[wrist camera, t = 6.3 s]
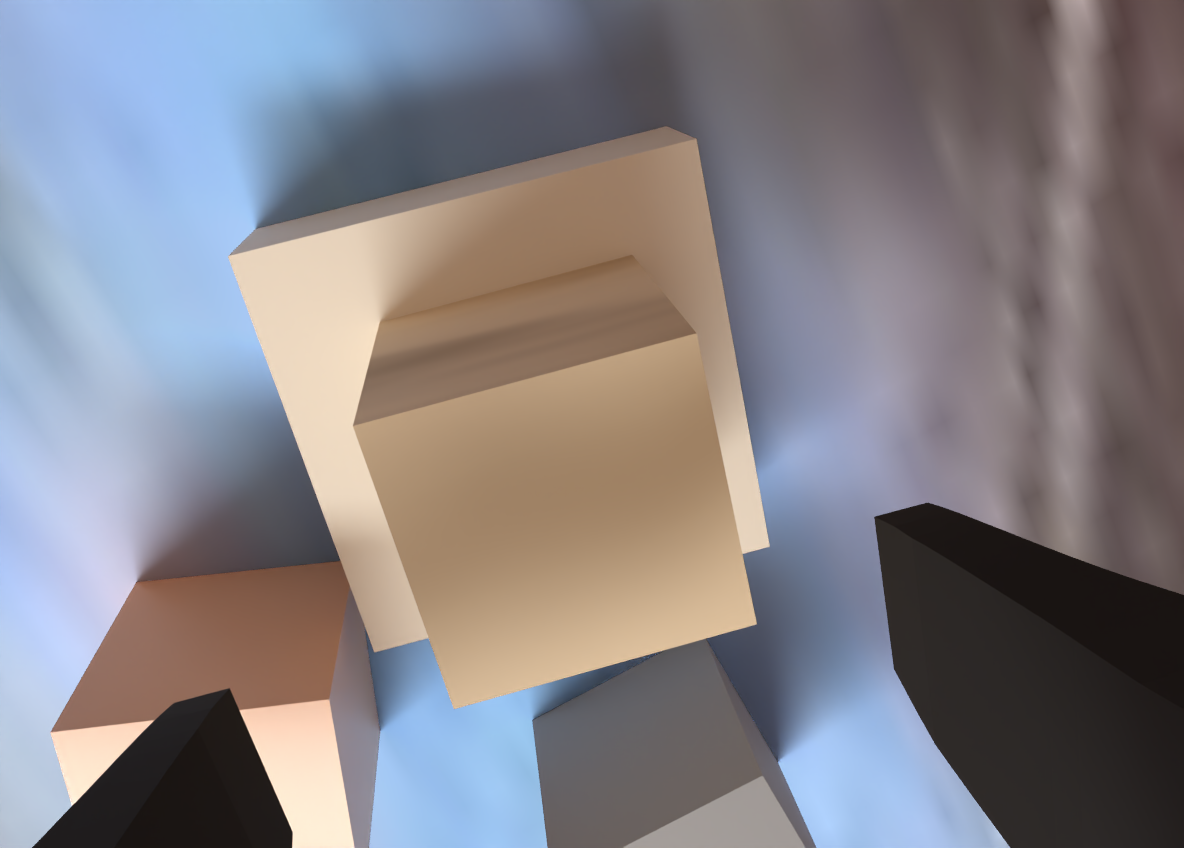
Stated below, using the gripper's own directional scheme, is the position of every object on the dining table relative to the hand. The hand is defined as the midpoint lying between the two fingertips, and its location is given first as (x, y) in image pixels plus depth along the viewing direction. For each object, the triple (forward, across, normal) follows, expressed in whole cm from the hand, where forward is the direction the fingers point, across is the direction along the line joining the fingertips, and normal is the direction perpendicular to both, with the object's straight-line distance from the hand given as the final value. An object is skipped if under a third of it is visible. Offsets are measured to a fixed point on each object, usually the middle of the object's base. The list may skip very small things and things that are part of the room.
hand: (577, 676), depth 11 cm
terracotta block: (+10, +7, +5) cm, 14 cm away
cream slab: (+11, 0, 0) cm, 11 cm away
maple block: (+8, 0, 0) cm, 8 cm away
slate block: (+10, -1, +10) cm, 14 cm away
